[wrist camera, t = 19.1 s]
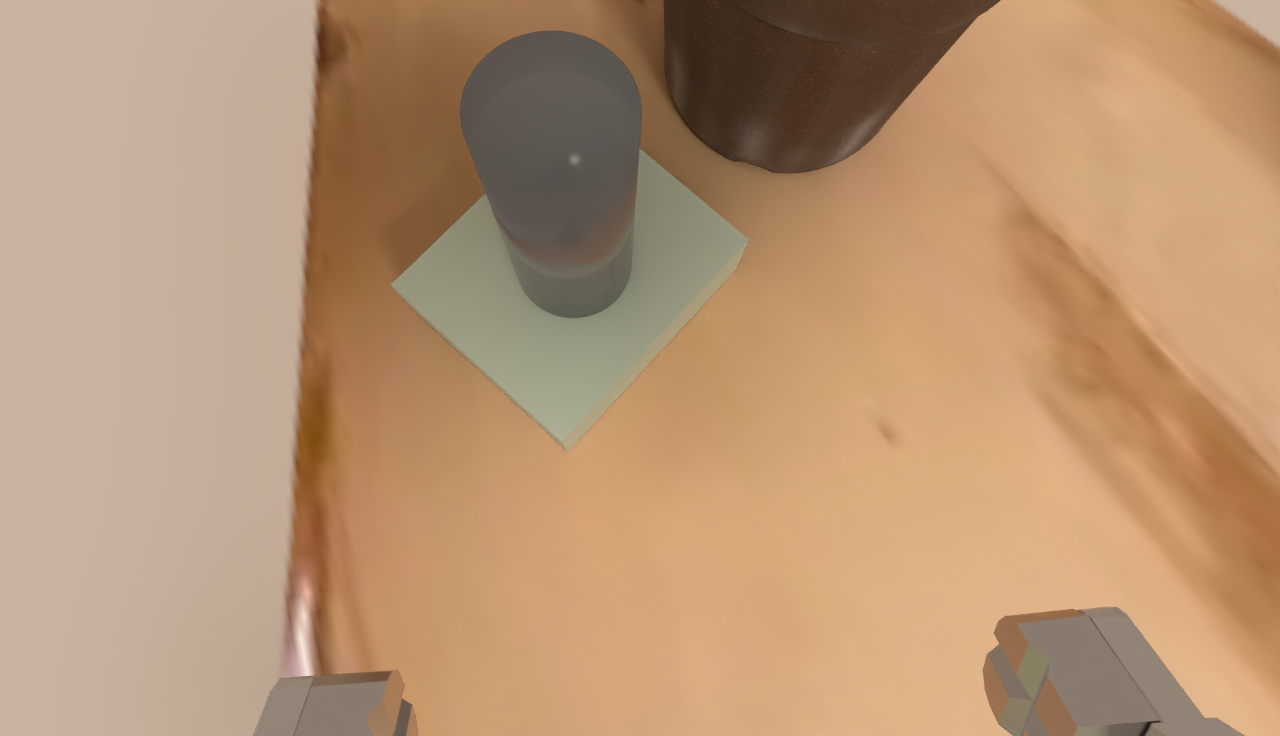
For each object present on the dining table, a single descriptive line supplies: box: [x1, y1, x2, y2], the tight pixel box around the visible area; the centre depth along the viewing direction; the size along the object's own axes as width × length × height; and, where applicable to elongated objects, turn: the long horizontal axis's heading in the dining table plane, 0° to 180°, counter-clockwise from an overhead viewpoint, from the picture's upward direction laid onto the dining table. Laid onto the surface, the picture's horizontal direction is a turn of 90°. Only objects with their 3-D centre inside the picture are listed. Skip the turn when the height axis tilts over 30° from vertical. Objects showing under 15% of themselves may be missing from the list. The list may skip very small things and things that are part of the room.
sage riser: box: [391, 148, 749, 451], centre depth 34 cm, size 12×10×4 cm
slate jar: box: [460, 31, 642, 318], centre depth 27 cm, size 5×5×12 cm
